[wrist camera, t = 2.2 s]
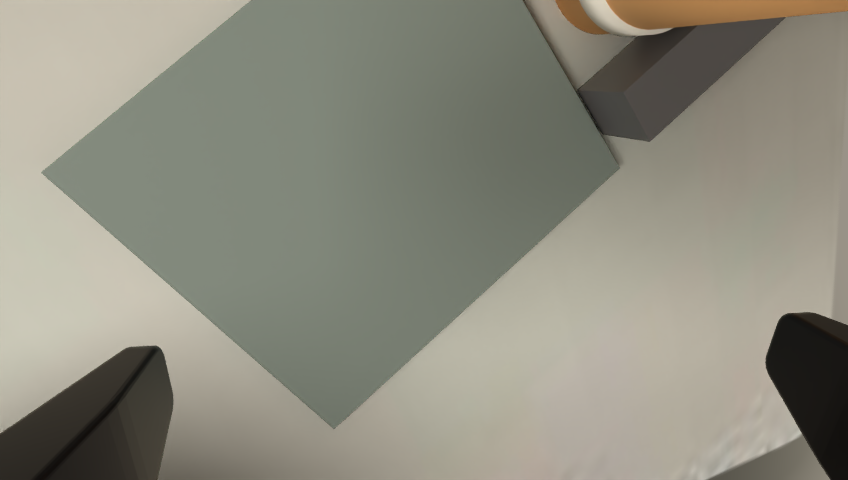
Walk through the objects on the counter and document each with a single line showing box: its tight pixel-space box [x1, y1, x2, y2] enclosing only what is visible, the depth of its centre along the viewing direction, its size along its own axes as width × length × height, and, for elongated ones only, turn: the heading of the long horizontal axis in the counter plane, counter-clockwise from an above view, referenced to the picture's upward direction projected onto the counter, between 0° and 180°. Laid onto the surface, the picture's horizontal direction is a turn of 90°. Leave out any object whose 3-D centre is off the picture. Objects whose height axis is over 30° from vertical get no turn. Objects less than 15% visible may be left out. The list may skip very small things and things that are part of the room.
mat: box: [41, 0, 620, 429], centre depth 19 cm, size 14×12×1 cm
